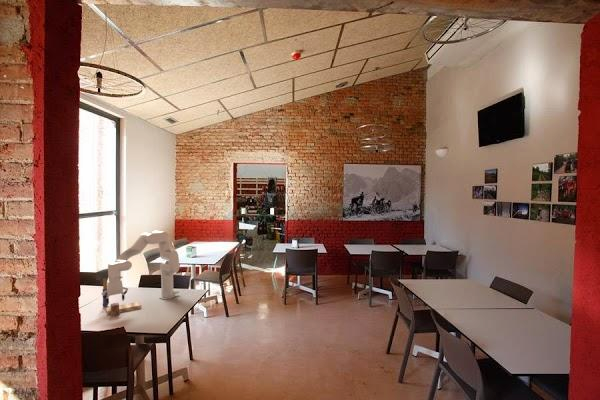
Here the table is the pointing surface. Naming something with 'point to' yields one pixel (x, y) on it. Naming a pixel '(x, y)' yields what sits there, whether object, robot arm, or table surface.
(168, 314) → the table surface
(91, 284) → the table surface
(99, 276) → the rubber mallet
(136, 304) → the board
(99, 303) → the table surface
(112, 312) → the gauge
